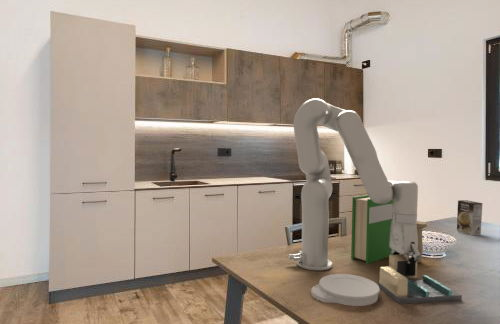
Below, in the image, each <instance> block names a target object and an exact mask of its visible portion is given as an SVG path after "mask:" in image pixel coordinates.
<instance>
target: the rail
mask: <svg viewBox="0 0 500 324" xmlns="http://www.w3.org/2000/svg"><path fill="white" fill-rule="evenodd" d="M377 285H378V286H379V289H380V290H381V291H382V292H384V293H385V294H387V295H388V296H389V297H390V298H391V299H392V300H394V301H395V302H396V303H398V304H400V305H402V304H419V303H420V304H421V303H436V302H439V303H440V302H457V301H458V302H459V301H462V299H463V295H462V294H461V293H459V292H457V291H455V290H453V288H451V287H448V286H447V285H445V284H444V283H442V282H440V281H438V280H436V279H435V278H432V277H431V276H428V275H426V274H422V279H412V278H408V277H406V276H403V275H401V274H400V273H398V272H397V271H395V270H394V269H392V268H390V267H389V266H379V281H377Z"/></svg>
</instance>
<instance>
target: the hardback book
mask: <svg viewBox="0 0 500 324" xmlns="http://www.w3.org/2000/svg"><path fill="white" fill-rule="evenodd" d="M351 204H352V205H351V206H352V207H351V208H352V210H351V213H352V214H351V249H350V250H351V251H350V252H351V255H350V258H351V259H352V260H356V259H359V260H362V261H365V264H367V265H368V264H373V263H375V262H378V261H380V260H383V259H386V258H389V255H392V254H391V248H390V247H389V235H390V227H391V222H392V209H393V201H392V200H390V201H389V202H387V203H385V204H377V203H375V202H373V201H372V200H371V199H370V198H369V196H368V194H366V195H357V196H352V203H351Z"/></svg>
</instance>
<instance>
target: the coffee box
mask: <svg viewBox="0 0 500 324" xmlns="http://www.w3.org/2000/svg"><path fill="white" fill-rule="evenodd" d="M456 216H457V217H456V232H459V233H463V234H466V235H470V236H478V235H479V236H480V234H482V220H483V219H482V216H483V203H482V202H478V201H472V200H462V199H460V200H457V215H456Z"/></svg>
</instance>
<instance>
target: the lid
mask: <svg viewBox="0 0 500 324" xmlns="http://www.w3.org/2000/svg"><path fill="white" fill-rule="evenodd" d="M380 291H381V289H380V288H379V286H378V283H376V282H375V281H373V280H371V279H369V278H366V277H365V276H360V275H355V274H349V273H347V274H346V273H334V274H333V273H332V274H328V275H324V276H322V278H320V279H319V282H318V284H316V285H313V286H312V288H311V290H310V293H311V296H312V298H314V299H315V298H316V299H315V300H317V301H319V300H320V301H319V302H322V303H332V304H333V303H334V304H341V305H345V306H351V307H352V306H353V307H362V306H370V305H372V304H375V303H376V302H377V301H378V299H379V294H380Z"/></svg>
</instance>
